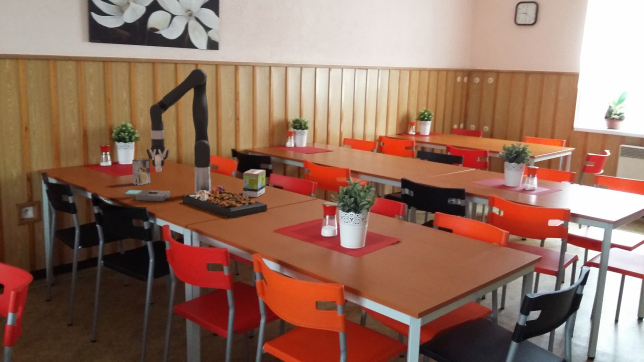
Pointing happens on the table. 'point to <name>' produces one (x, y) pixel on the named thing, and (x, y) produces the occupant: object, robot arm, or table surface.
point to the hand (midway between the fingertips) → (158, 165)
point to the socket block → (152, 195)
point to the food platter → (224, 203)
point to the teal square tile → (133, 192)
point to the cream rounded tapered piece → (158, 163)
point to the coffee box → (141, 171)
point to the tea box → (254, 182)
